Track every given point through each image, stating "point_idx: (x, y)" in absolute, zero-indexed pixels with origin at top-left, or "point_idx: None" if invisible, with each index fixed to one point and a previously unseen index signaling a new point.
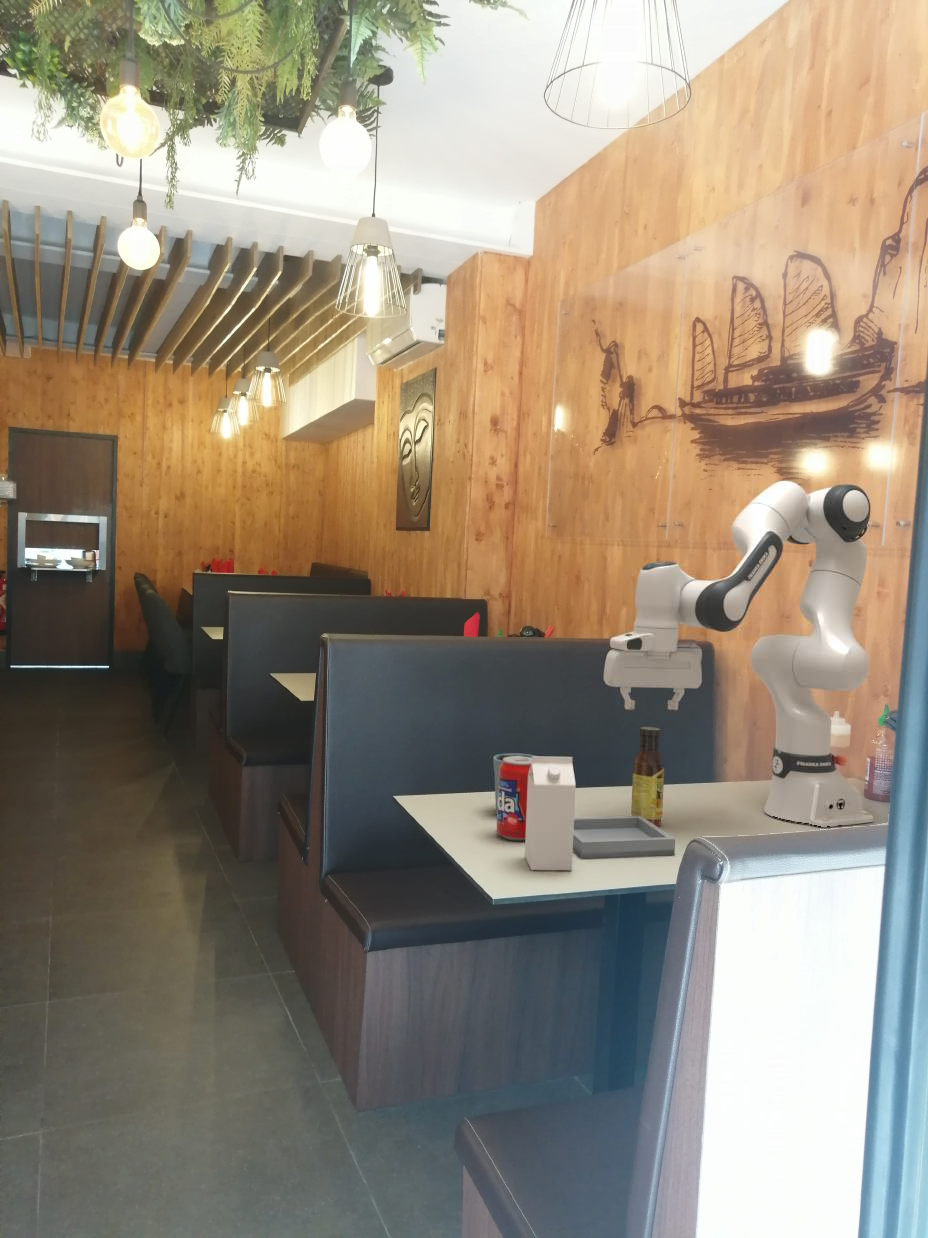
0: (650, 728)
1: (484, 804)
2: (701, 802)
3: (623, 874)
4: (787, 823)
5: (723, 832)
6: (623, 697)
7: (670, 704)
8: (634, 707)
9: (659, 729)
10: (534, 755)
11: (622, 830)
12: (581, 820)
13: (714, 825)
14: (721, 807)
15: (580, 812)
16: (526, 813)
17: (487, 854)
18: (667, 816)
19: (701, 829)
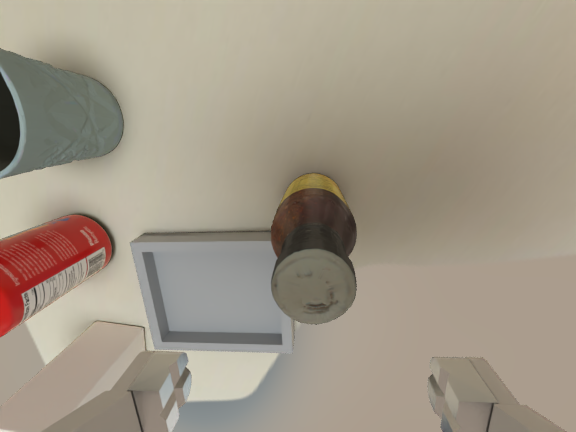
0: (311, 294)
1: (24, 36)
2: (539, 24)
3: (205, 381)
4: None
5: (435, 250)
6: (86, 406)
7: (442, 413)
8: (185, 399)
9: (344, 312)
10: (2, 72)
11: (247, 255)
12: (173, 251)
13: (445, 210)
14: (558, 76)
15: (211, 107)
16: (45, 366)
17: (51, 304)
18: (382, 145)
19: (404, 231)
